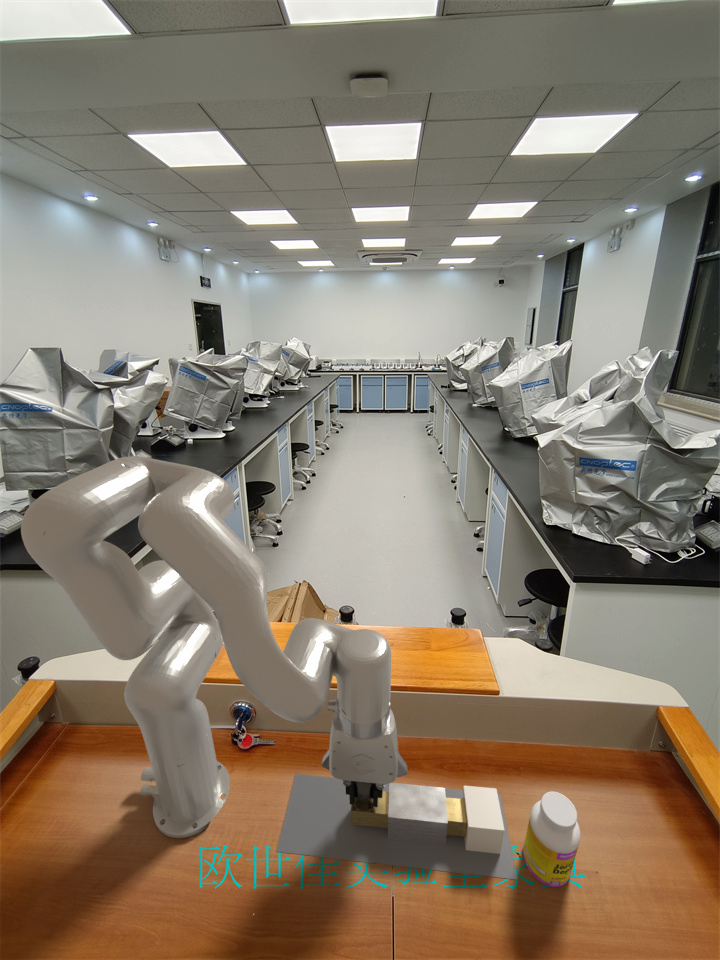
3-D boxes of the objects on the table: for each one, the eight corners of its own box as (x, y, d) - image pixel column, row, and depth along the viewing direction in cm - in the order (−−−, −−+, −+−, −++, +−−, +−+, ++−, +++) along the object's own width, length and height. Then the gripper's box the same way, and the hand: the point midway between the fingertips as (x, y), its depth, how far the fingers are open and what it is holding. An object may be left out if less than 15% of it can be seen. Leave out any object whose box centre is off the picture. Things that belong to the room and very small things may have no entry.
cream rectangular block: (465, 850, 65) (468, 826, 63) (461, 808, 71) (463, 785, 69) (500, 853, 65) (504, 830, 63) (493, 811, 70) (496, 788, 68)
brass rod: (351, 824, 68) (350, 786, 65) (353, 802, 71) (352, 764, 68) (492, 839, 66) (498, 801, 62) (488, 815, 69) (493, 778, 66)
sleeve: (387, 838, 67) (388, 817, 65) (389, 803, 71) (389, 782, 70) (445, 844, 66) (447, 823, 64) (443, 808, 71) (444, 787, 69)
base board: (277, 856, 66) (276, 851, 65) (295, 778, 77) (295, 773, 76) (516, 884, 62) (517, 879, 62) (499, 798, 73) (500, 793, 73)
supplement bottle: (548, 902, 60) (562, 845, 56) (512, 853, 66) (523, 798, 61) (579, 875, 63) (595, 818, 58) (543, 830, 68) (555, 776, 64)
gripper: (302, 729, 58) (309, 816, 65) (422, 740, 57) (416, 828, 63) (313, 685, 65) (318, 768, 72) (420, 693, 64) (415, 777, 70)
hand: (364, 795), depth 67 cm, fingers closed on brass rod, 3 cm apart
